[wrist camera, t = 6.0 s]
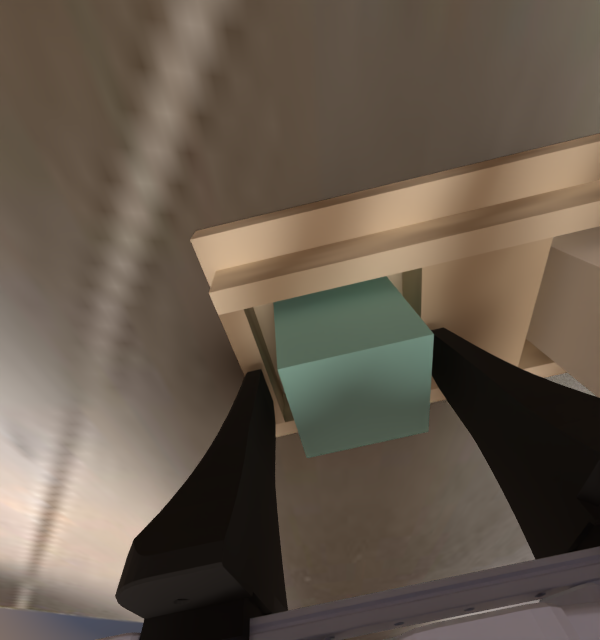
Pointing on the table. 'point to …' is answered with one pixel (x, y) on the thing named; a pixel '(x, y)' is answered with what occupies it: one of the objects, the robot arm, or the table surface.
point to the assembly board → (411, 254)
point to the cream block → (571, 307)
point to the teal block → (354, 365)
